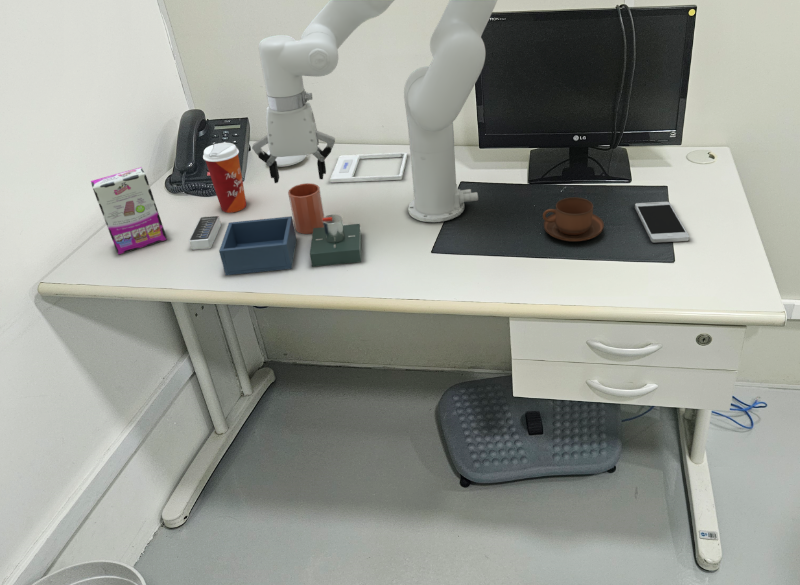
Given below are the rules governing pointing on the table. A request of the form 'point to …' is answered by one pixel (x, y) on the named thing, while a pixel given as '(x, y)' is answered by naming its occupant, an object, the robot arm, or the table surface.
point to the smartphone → (661, 222)
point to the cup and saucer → (573, 220)
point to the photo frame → (349, 164)
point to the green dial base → (336, 247)
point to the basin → (258, 246)
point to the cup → (306, 207)
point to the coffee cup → (226, 175)
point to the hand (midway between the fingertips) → (299, 178)
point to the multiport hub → (205, 232)
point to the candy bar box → (129, 210)
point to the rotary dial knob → (333, 228)
